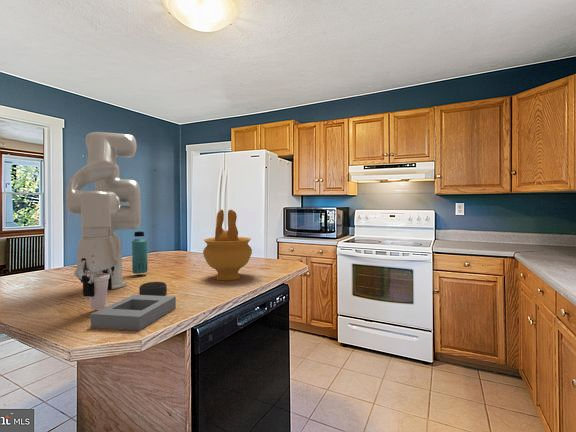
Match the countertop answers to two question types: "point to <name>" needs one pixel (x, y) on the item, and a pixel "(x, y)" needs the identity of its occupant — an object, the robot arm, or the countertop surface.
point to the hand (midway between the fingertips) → (98, 292)
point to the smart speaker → (153, 289)
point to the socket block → (133, 312)
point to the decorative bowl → (227, 248)
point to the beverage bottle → (139, 254)
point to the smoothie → (99, 290)
